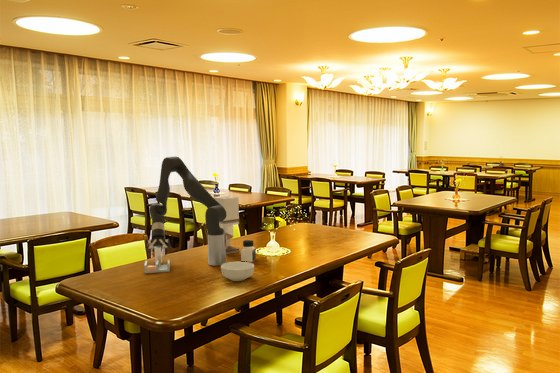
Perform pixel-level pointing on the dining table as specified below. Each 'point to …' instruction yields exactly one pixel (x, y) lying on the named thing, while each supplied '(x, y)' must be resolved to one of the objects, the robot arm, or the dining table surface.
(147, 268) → the slot rack
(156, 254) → the panel
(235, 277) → the cereal bowl
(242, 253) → the medicine bottle
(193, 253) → the dining table surface
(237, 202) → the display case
